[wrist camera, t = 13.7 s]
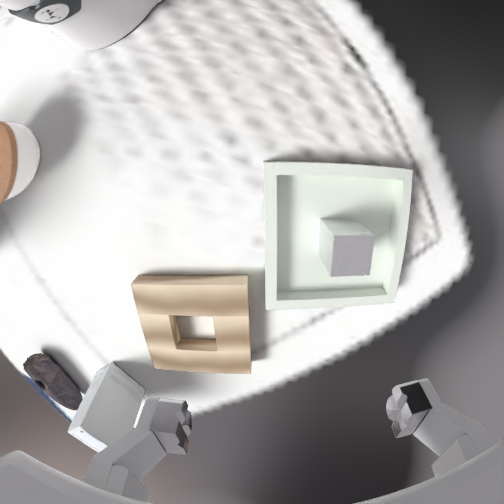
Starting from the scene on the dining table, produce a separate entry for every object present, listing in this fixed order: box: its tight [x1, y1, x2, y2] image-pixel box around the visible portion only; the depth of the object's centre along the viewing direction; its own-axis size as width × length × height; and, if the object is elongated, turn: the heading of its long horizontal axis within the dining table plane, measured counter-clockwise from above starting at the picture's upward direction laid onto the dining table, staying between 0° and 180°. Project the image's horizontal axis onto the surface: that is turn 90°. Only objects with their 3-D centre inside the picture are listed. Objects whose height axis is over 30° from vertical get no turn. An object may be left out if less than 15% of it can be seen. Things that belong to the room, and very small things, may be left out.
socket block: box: [131, 275, 251, 374], centre depth 34 cm, size 14×14×2 cm
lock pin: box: [318, 219, 375, 277], centre depth 27 cm, size 4×4×6 cm
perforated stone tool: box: [23, 353, 83, 410], centre depth 39 cm, size 15×5×7 cm, turn 27°
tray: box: [263, 161, 413, 310], centre depth 29 cm, size 16×16×3 cm
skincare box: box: [68, 362, 145, 453], centre depth 34 cm, size 8×6×15 cm
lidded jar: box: [0, 121, 40, 203], centre depth 23 cm, size 11×11×9 cm
